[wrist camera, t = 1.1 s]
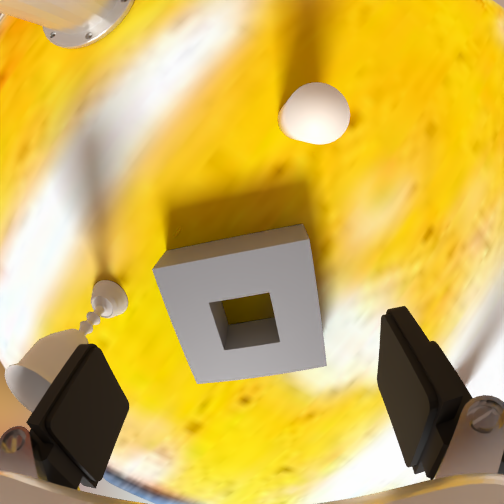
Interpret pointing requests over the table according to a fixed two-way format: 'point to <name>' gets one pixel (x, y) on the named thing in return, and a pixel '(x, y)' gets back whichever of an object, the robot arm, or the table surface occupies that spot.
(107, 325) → the table surface
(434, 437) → the robot arm
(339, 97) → the peg
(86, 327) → the chalice
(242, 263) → the socket block
